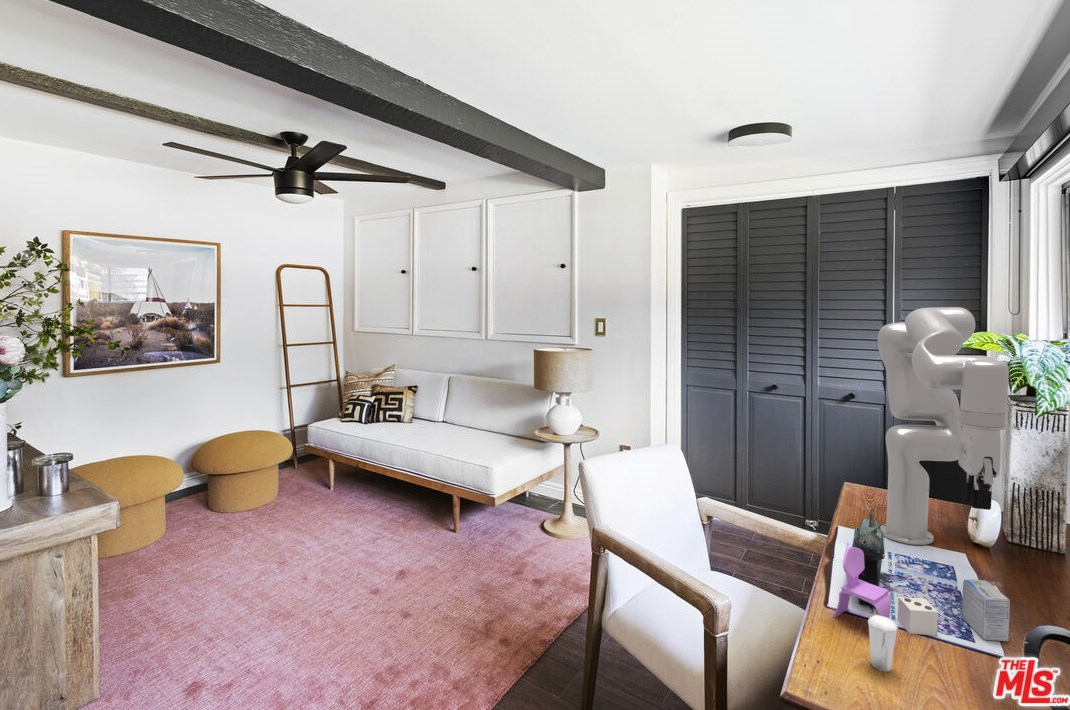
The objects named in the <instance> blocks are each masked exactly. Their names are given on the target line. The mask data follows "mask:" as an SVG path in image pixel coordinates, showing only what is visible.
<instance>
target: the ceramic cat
mask: <svg viewBox="0 0 1070 710" xmlns="http://www.w3.org/2000/svg"><path fill="white" fill-rule="evenodd" d="M874 511H875V508H873V507H871V508H870V511H869V519H868V518H863V519H862V521H861V523H860V525H859V527H855V529H854V534H853V540H852V545H851V547H856V548H859V549H861V550H862V551H863V553H864V566H865V569H864V570H863V571H862V572H861V573H860V574H859V575H858V579H860V580H863V581H865V582H867V583H870V584H872V585H875V586H878V587H880V583H881V573H882V572H881V571H882V563H883V560H884V559H885V555H886V554H885V542H884V540H885V539H884V538H885V536H884V535H883V532H882V531H881V528H880V527H881V526H882V525H883V524H881V523H880V522H879V521H878V520H875V519H874V517H875V514H874ZM857 600H858V604H859V605H862V606H864V607H865V606H866V607H870V608H874V609H876V608H875V607H874V606H873V605H872V604H871V603H869V602H866V601H864V600H862V599H860V598H858V597H857Z"/></svg>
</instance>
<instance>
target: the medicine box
mask: <svg viewBox="0 0 1070 710" xmlns="http://www.w3.org/2000/svg"><path fill="white" fill-rule="evenodd" d="M962 583H963V584H962V604H961V605H962V607H961V618H962V619H963V621H965V622H966V623H967V624H968V625H969V626H970V627H971V628H972V629H973V631H975V633H977V634H978V635H979V636H980V637H981V638H982V639H983V640H984V641H994V642H995V641H996V642H997V641H998V642H1009V636H1010V635H1009V634H1010V633H1009V632H1010V631H1009V630H1010V610H1011V609H1010V607H1011V606H1010V604H1011V600H1010V599H1009V597H1007V596H1006V595H1004V594H1003V593H1002V592H1001V591H1000V590H999V589H998V590H999V591H1000V592H999V591H998V590H997V589H996V588H995V587H993V586H994V585H992V583H990V582H989V581H987V580H984V579H983V580H981V579H963V582H962Z"/></svg>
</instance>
